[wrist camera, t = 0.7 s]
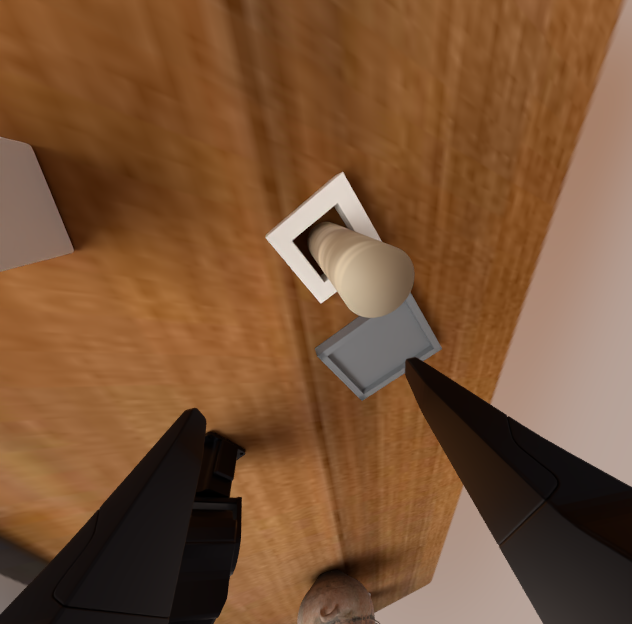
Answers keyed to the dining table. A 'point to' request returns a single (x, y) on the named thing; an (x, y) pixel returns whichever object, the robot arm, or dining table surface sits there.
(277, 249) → the socket
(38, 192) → the milk carton
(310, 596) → the cooking pot
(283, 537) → the dining table surface
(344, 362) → the tray
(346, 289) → the dowel
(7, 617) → the robot arm
